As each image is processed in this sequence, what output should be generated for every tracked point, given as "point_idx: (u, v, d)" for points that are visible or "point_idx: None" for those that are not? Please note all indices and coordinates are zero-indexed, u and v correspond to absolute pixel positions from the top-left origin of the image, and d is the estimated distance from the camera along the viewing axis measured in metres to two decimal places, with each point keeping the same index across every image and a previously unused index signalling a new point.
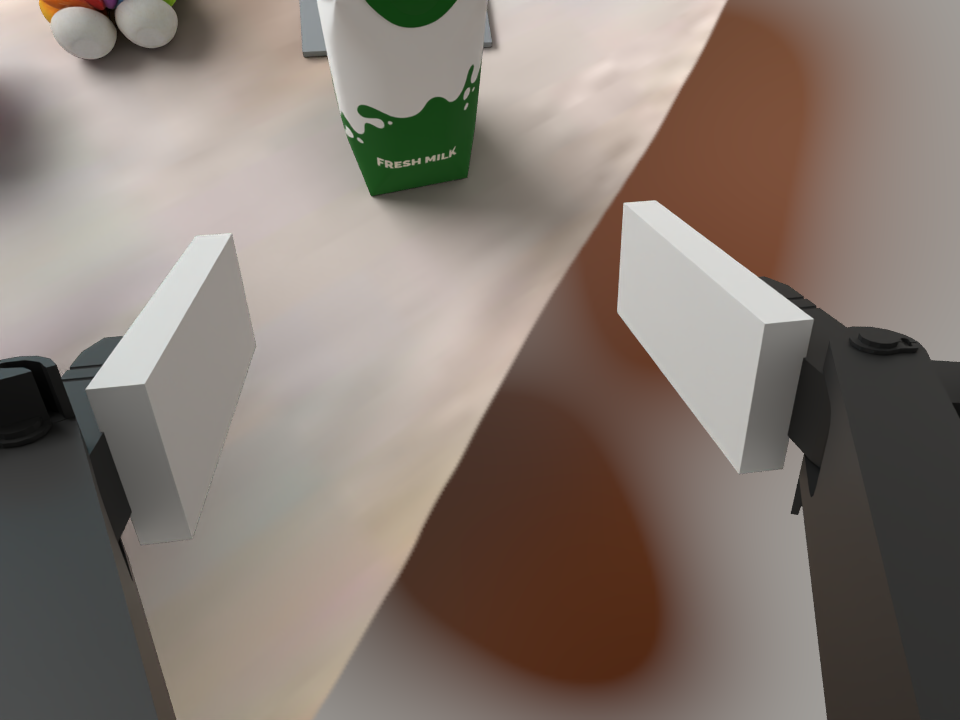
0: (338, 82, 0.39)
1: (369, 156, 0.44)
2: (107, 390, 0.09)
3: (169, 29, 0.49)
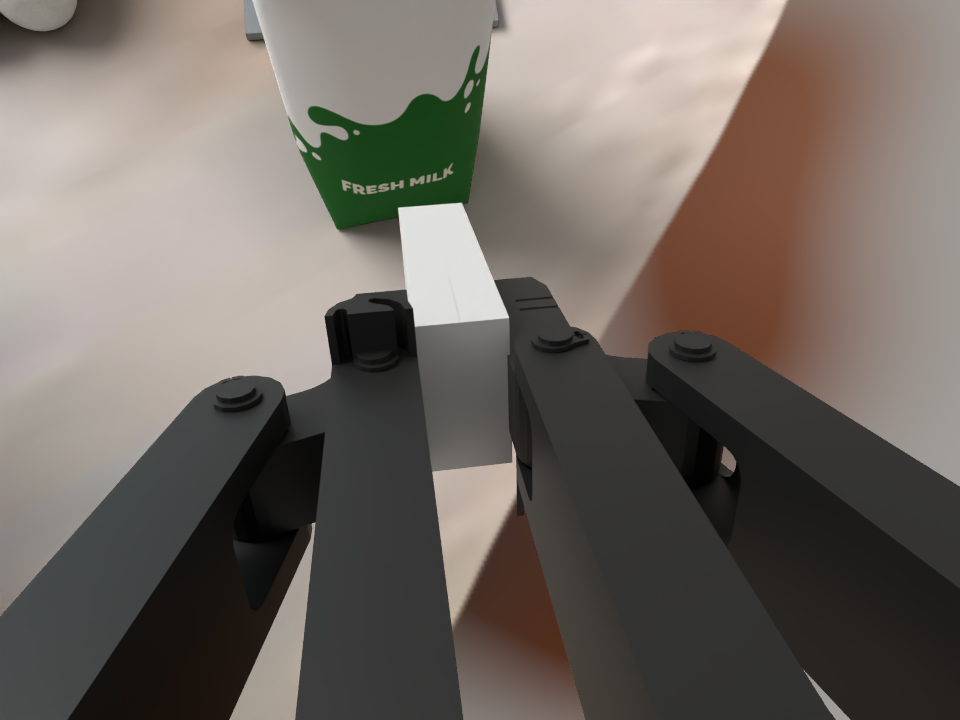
0: (277, 72, 0.26)
1: (330, 177, 0.31)
2: (427, 328, 0.11)
3: (63, 4, 0.36)
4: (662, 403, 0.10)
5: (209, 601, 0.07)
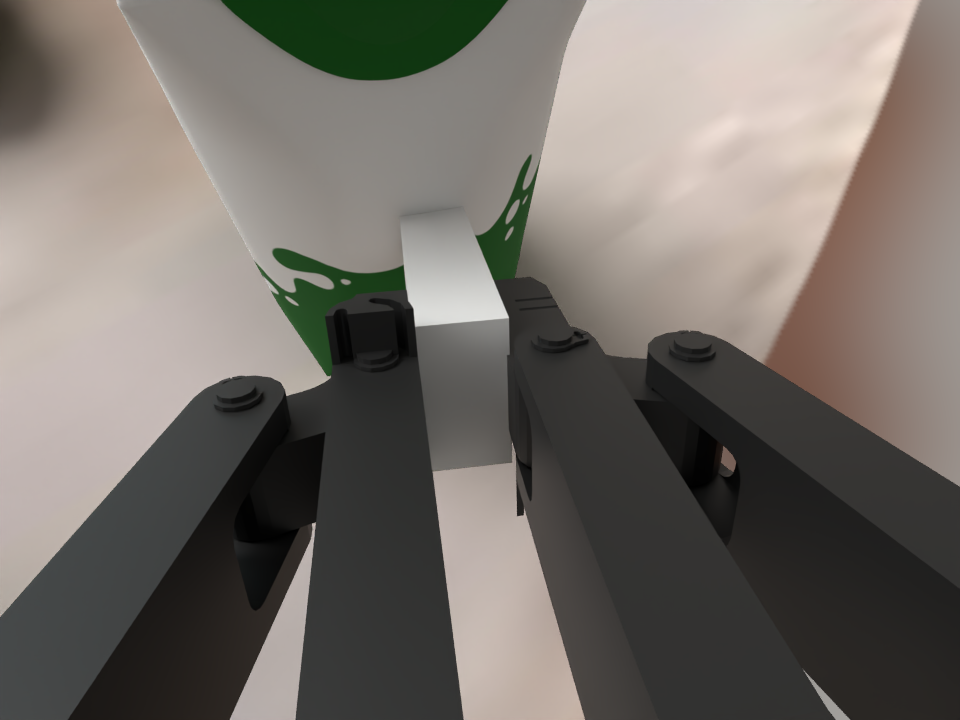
0: (223, 201, 0.17)
1: (313, 325, 0.22)
2: (427, 328, 0.11)
3: None
4: (661, 403, 0.10)
5: (209, 601, 0.07)
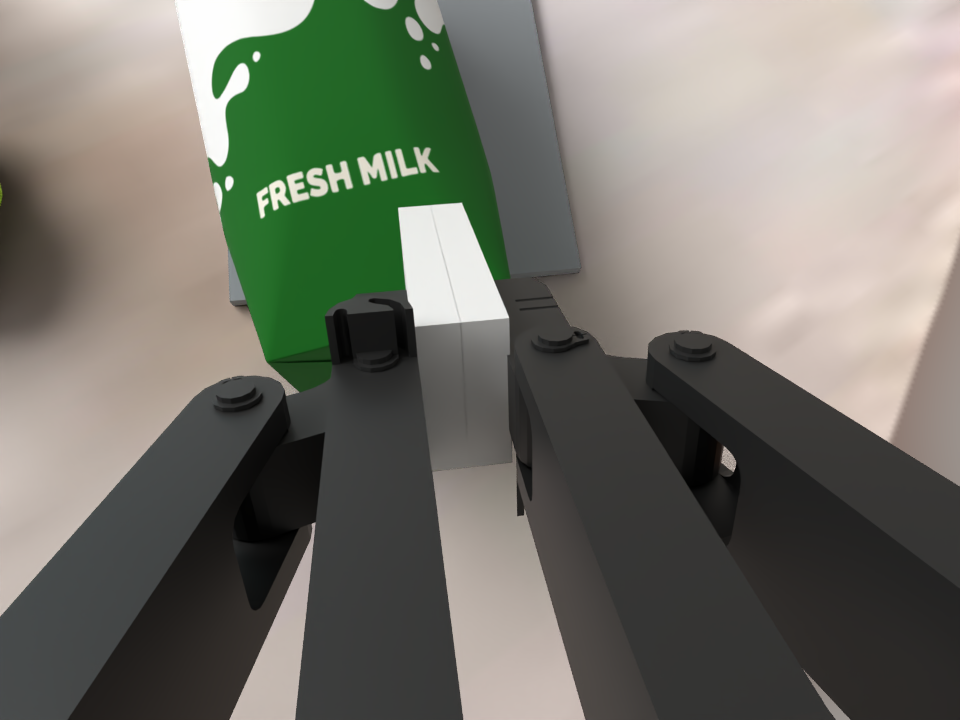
0: (191, 76, 0.22)
1: (245, 210, 0.20)
2: (427, 328, 0.11)
3: None
4: (662, 403, 0.10)
5: (209, 601, 0.07)
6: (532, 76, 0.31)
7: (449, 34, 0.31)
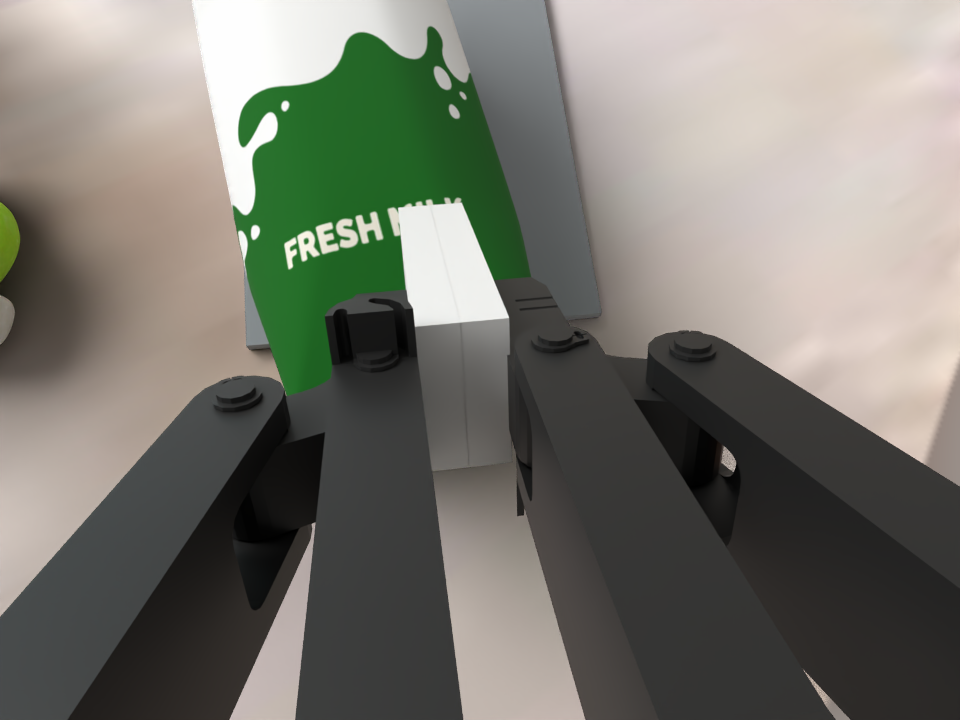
0: (215, 123, 0.22)
1: (272, 260, 0.19)
2: (427, 328, 0.11)
3: None
4: (662, 403, 0.10)
5: (209, 601, 0.07)
6: (552, 115, 0.31)
7: None
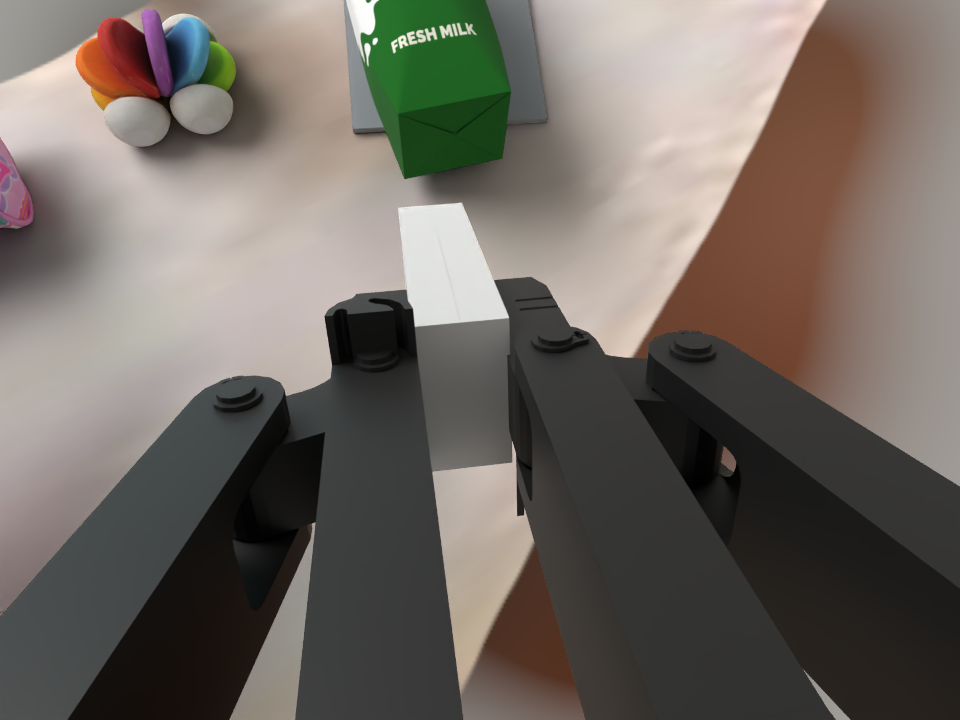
0: None
1: (384, 51, 0.42)
2: (427, 328, 0.11)
3: (225, 116, 0.47)
4: (662, 403, 0.10)
5: (209, 601, 0.07)
6: (522, 13, 0.53)
7: None
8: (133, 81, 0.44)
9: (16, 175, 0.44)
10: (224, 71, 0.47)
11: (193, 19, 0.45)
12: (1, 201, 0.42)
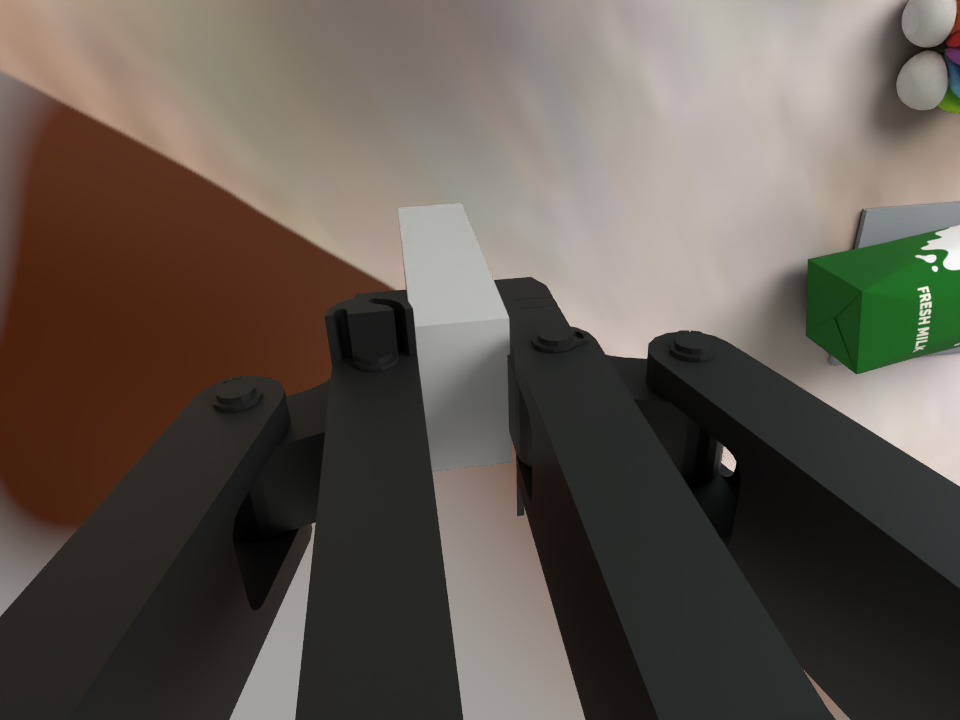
0: None
1: (922, 279, 0.50)
2: (427, 328, 0.11)
3: (908, 104, 0.50)
4: (662, 403, 0.10)
5: (209, 601, 0.07)
6: None
7: None
8: None
9: None
10: (953, 106, 0.50)
11: None
12: None
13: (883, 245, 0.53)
